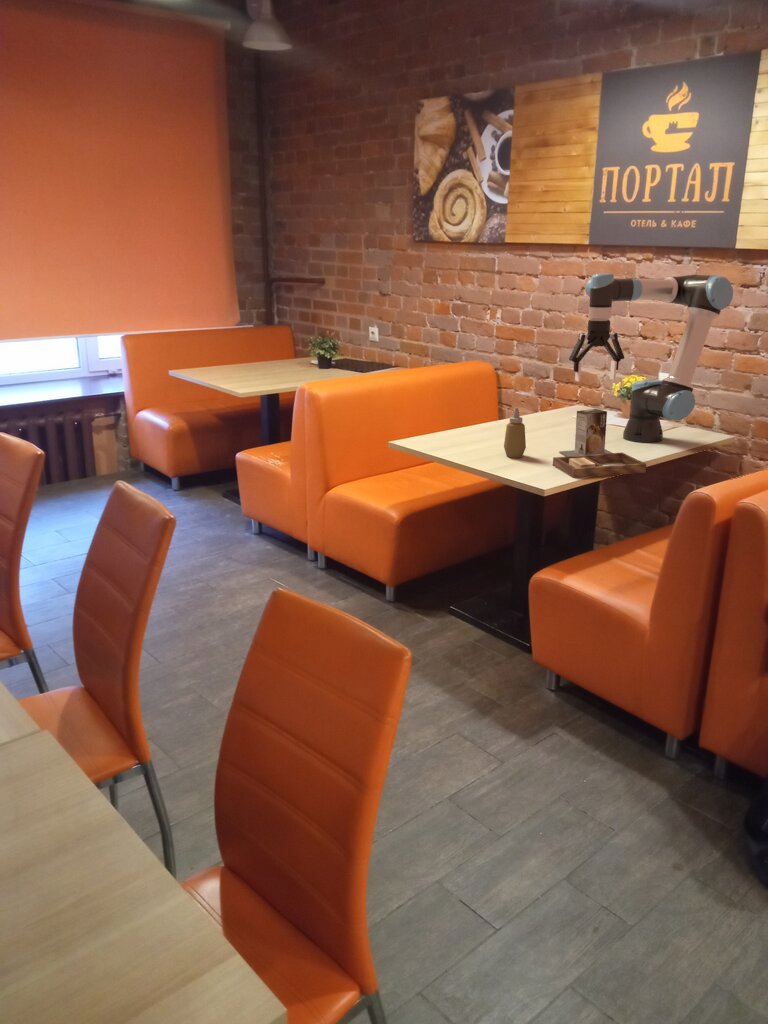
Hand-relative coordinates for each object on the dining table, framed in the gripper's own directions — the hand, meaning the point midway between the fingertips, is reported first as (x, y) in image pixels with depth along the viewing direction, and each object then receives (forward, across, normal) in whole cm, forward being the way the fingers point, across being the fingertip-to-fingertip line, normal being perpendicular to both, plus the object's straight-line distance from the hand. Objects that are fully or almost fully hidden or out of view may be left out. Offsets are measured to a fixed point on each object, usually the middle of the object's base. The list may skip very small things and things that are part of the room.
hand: (595, 380), depth 294 cm
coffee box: (+27, 0, 0) cm, 27 cm away
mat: (+28, 0, 0) cm, 28 cm away
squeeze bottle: (+28, +27, -6) cm, 39 cm away
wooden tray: (+28, +6, +18) cm, 34 cm away
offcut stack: (+28, +12, +18) cm, 36 cm away
